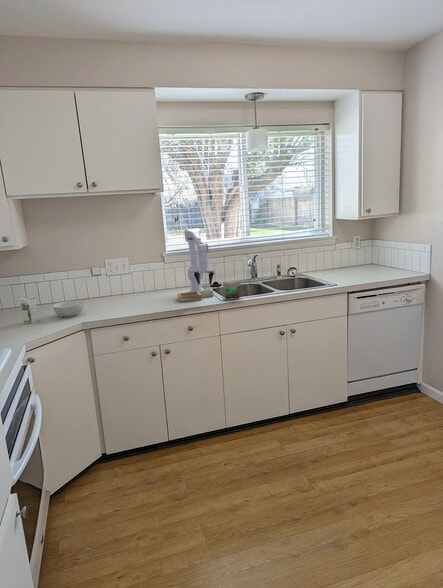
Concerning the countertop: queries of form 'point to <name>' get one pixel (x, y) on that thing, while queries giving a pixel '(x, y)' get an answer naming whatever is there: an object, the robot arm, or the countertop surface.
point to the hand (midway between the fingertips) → (204, 284)
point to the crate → (189, 296)
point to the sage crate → (206, 293)
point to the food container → (232, 290)
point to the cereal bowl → (68, 308)
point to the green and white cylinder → (29, 309)
